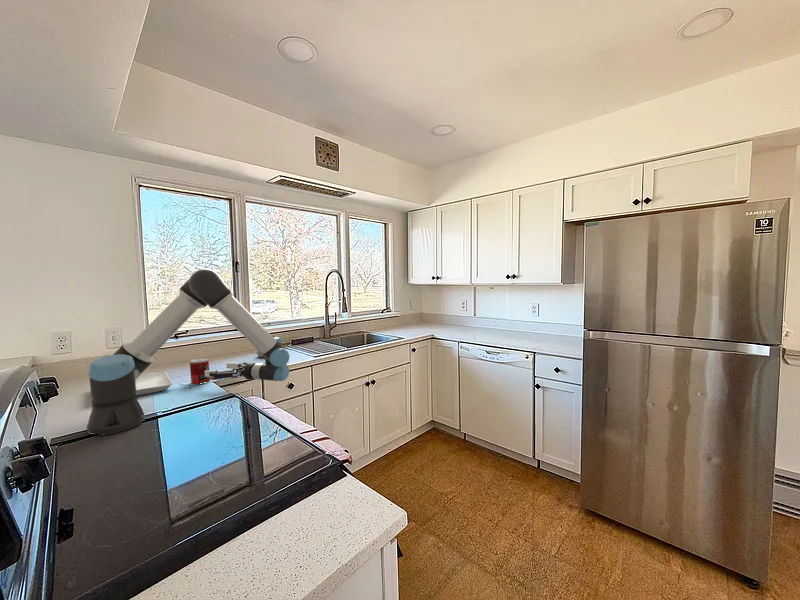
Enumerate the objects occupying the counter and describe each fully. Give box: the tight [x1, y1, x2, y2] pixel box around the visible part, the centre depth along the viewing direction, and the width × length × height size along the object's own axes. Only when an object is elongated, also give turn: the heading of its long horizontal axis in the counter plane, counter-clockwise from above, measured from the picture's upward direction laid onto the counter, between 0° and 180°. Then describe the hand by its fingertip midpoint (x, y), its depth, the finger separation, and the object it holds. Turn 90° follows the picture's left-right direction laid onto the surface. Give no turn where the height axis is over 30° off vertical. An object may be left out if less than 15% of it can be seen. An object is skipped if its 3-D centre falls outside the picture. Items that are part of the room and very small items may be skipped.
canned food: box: [189, 357, 211, 385], centre depth 162 cm, size 8×8×11 cm
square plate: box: [90, 371, 173, 402], centre depth 153 cm, size 27×27×4 cm
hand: (216, 369), depth 160 cm, fingers open, 13 cm apart
